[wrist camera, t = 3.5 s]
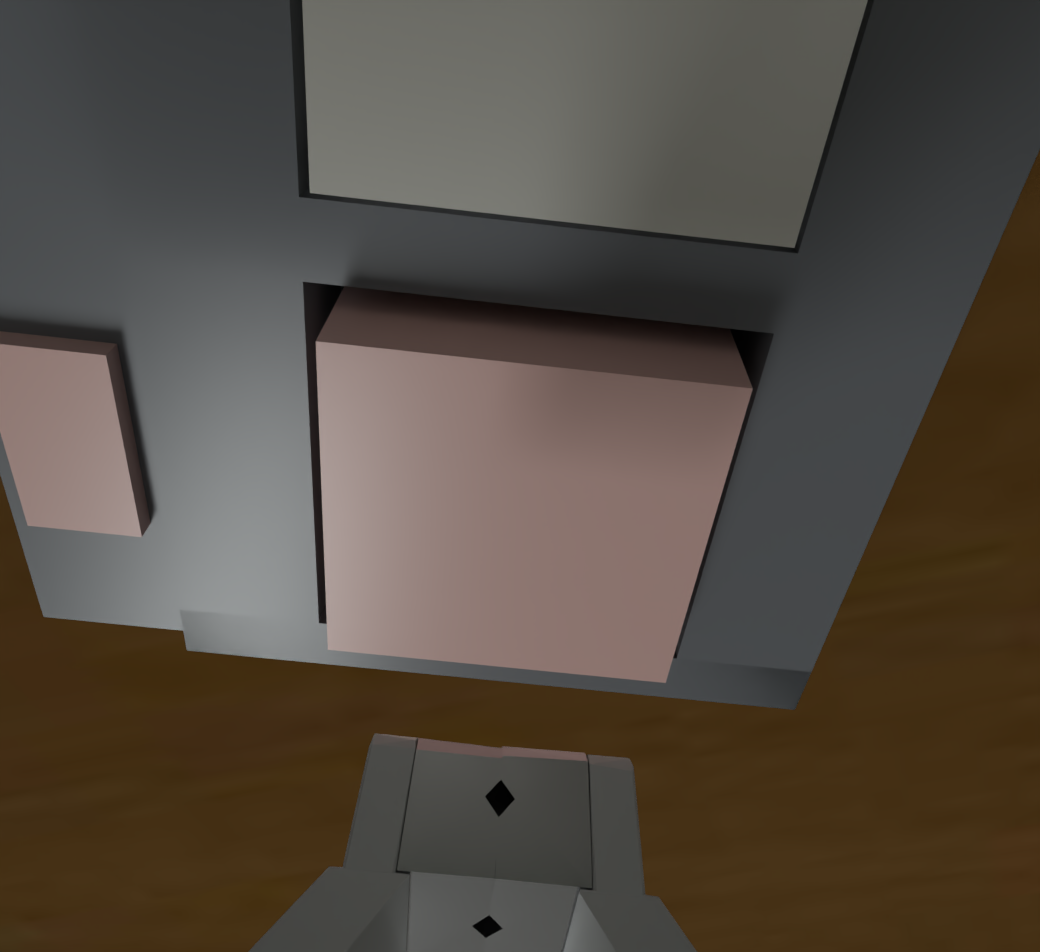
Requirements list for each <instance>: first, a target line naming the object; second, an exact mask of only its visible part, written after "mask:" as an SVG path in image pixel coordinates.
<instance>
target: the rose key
mask: <svg viewBox="0 0 1040 952" xmlns="http://www.w3.org/2000/svg"><path fill="white" fill-rule="evenodd" d="M316 363H317V389H318V414H319V439H320V464H321V490H322V515H323V540H324V566H325V591H326V616H327V642H328V650H335V651H345V652H355V653H365V654H376V655H386V656H396V657H406V658H416V659H427V660H437V661H447V662H457V663H467V664H478V665H488V666H498V667H508V668H518V669H529V670H539V671H549V672H559V673H569V674H580V675H590V676H600V677H610V678H620V679H631V680H641V681H651V682H661V683H666V680H667V677H668V673H669V670H670V666H671V663H672V660H673V656H674V653H675V649H676V646H677V643H678V639H679V636H680V633H681V629H682V626H683V622H684V619H685V616H686V612H687V609H688V606H689V602H690V599H691V595H692V592H693V589H694V585H695V582H696V579H697V575H698V572H699V568H700V565H701V562H702V558H703V555H704V552H705V548H706V545H707V541H708V538H709V535H710V531H711V528H712V525H713V521H714V518H715V514H716V511H717V508H718V504H719V501H720V498H721V494H722V491H723V487H724V484H725V481H726V477H727V474H728V471H729V467H730V464H731V460H732V457H733V454H734V450H735V447H736V444H737V440H738V437H739V433H740V430H741V427H742V423H743V420H744V417H745V413H746V410H747V406H748V403H749V400H750V396H751V393H752V390H753V388H752V385H751V383H750V380H749V378H748V375H747V372H746V370H745V367H744V364H743V362H742V359H741V357H740V354H739V351H738V349H737V346H736V344H735V341H734V338H733V336H732V333H731V331H730V329H728V328H719V327H710V326H701V325H692V324H683V323H674V322H665V321H655V320H646V319H637V318H628V317H619V316H610V315H601V314H592V313H583V312H574V311H565V310H556V309H547V308H538V307H529V306H520V305H511V304H502V303H492V302H483V301H474V300H465V299H456V298H447V297H438V296H429V295H420V294H411V293H402V292H393V291H384V290H375V289H366V288H357V287H348V286H344V288H343V290H342V292H341V294H340V296H339V298H338V300H337V301H336V303H335V305H334V307H333V309H332V311H331V313H330V315H329V317H328V319H327V321H326V322H325V324H324V326H323V328H322V330H321V332H320V334H319V336H318V338H317V340H316Z"/></svg>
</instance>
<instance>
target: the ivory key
mask: <svg viewBox="0 0 1040 952" xmlns="http://www.w3.org/2000/svg"><path fill="white" fill-rule="evenodd" d="M867 1H868V0H302V9H303V34H304V60H305V85H306V110H307V136H308V161H309V186H310V193H314V194H323V195H332V196H341V197H350V198H359V199H367V200H376V201H385V202H394V203H403V204H411V205H420V206H429V207H438V208H447V209H456V210H464V211H473V212H482V213H491V214H500V215H508V216H517V217H526V218H535V219H544V220H552V221H561V222H570V223H579V224H588V225H597V226H605V227H614V228H623V229H632V230H641V231H649V232H658V233H667V234H676V235H685V236H694V237H702V238H711V239H720V240H729V241H738V242H746V243H755V244H764V245H773V246H782V247H790V248H795V244H796V241H797V238H798V234H799V231H800V227H801V224H802V221H803V217H804V214H805V211H806V207H807V204H808V200H809V197H810V194H811V190H812V187H813V184H814V180H815V177H816V173H817V170H818V167H819V163H820V160H821V157H822V153H823V150H824V146H825V143H826V140H827V136H828V133H829V130H830V126H831V123H832V119H833V116H834V113H835V109H836V106H837V103H838V99H839V96H840V92H841V89H842V86H843V82H844V79H845V75H846V72H847V69H848V65H849V62H850V59H851V55H852V52H853V48H854V45H855V42H856V38H857V35H858V32H859V28H860V25H861V21H862V18H863V15H864V11H865V8H866V5H867Z"/></svg>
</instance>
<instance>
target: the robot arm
mask: <svg viewBox="0 0 1040 952" xmlns="http://www.w3.org/2000/svg"><path fill="white" fill-rule="evenodd" d="M248 952H697V951H696V950H695V948H694V947H693V945H692V944H691V943H690V941H689V940H688V938H687V937H686V935H685V934H684V933H683V931H682V930H681V928H680V927H679V925H678V924H677V923H676V921H675V920H674V918H673V917H672V915H671V914H670V913H669V911H668V910H667V908H666V907H665V905H664V904H663V903H662V901H661V900H660V898H659V897H656V896H649V895H645V887H644V876H643V865H642V854H641V843H640V832H639V821H638V810H637V799H636V788H635V777H634V767H633V765H632V763H631V761H630V759H629V758H622V757H610V756H598V755H585V753H578V752H565V751H553V750H541V749H528V748H516V747H503V746H502V748H496V747H488V746H480V745H471V744H463V743H455V742H447V741H438V740H430V739H422V738H419V739H418V738H414V737H404V736H394V735H385V734H374V737H373V739H372V741H371V744H370V746H369V750H368V754H367V759H366V764H365V768H364V773H363V777H362V782H361V786H360V791H359V795H358V800H357V804H356V809H355V813H354V818H353V822H352V827H351V831H350V836H349V840H348V845H347V849H346V854H345V858H344V863H343V867H328V868H327V869H326V870H325V872H324V873H323V874H322V875H321V876H320V877H319V878H318V879H317V880H316V881H315V882H314V883H313V884H312V885H311V886H310V887H309V888H308V889H307V890H306V891H305V893H304V894H303V895H302V896H301V897H300V898H299V899H298V900H297V901H296V902H295V903H294V904H293V905H292V906H291V907H290V908H289V909H288V910H287V911H286V913H285V914H284V915H283V916H282V917H281V918H280V919H279V920H278V921H277V922H276V923H275V924H274V925H273V926H272V927H271V928H270V929H269V930H268V931H267V933H266V934H265V935H264V936H263V937H262V938H261V939H260V940H259V941H258V942H257V943H256V944H255V945H254V946H253V947H252V948H251V949H250V950H249V951H248Z"/></svg>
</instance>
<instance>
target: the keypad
mask: <svg viewBox="0 0 1040 952" xmlns="http://www.w3.org/2000/svg"><path fill="white" fill-rule="evenodd" d="M1039 149H1040V0H868V1H867V5H866V8H865V11H864V15H863V18H862V21H861V25H860V28H859V32H858V35H857V38H856V42H855V45H854V48H853V52H852V55H851V59H850V62H849V65H848V69H847V72H846V75H845V79H844V82H843V86H842V89H841V92H840V96H839V99H838V103H837V106H836V109H835V113H834V116H833V119H832V123H831V126H830V130H829V133H828V136H827V140H826V143H825V146H824V150H823V153H822V157H821V160H820V163H819V167H818V170H817V173H816V177H815V180H814V184H813V187H812V190H811V194H810V197H809V200H808V204H807V207H806V211H805V214H804V217H803V221H802V224H801V227H800V231H799V234H798V238H797V241H796V244H795V248H790V247H782V246H773V245H764V244H755V243H746V242H738V241H729V240H720V239H711V238H702V237H694V236H685V235H676V234H667V233H658V232H649V231H641V230H632V229H623V228H614V227H605V226H597V225H588V224H579V223H570V222H561V221H552V220H544V219H535V218H526V217H517V216H508V215H500V214H491V213H482V212H473V211H464V210H456V209H447V208H438V207H429V206H420V205H411V204H403V203H394V202H385V201H376V200H367V199H359V198H350V197H341V196H332V195H323V194H314V193H310V186H309V161H308V136H307V110H306V85H305V60H304V34H303V9H302V0H0V475H1V478H2V481H3V485H4V488H5V491H6V495H7V498H8V501H9V504H10V508H11V511H12V514H13V518H14V521H15V524H16V527H17V531H18V534H19V537H20V541H21V544H22V547H23V550H24V554H25V557H26V560H27V564H28V567H29V570H30V573H31V577H32V580H33V583H34V587H35V590H36V593H37V596H38V600H39V603H40V606H41V610H42V613H43V616H44V617H51V618H61V619H71V620H81V621H91V622H101V623H112V624H122V625H132V626H142V627H152V628H163V629H173V630H183V631H184V637H185V642H186V648H187V650H188V651H199V652H209V653H219V654H229V655H240V656H250V657H260V658H270V659H281V660H291V661H301V662H311V663H322V664H332V665H342V666H352V667H363V668H373V669H383V670H393V671H404V672H414V673H424V674H434V675H445V676H455V677H465V678H475V679H486V680H496V681H506V682H516V683H527V684H537V685H547V686H557V687H568V688H578V689H588V690H598V691H609V692H619V693H629V694H639V695H650V696H660V697H670V698H680V699H691V700H701V701H711V702H721V703H732V704H742V705H752V706H762V707H773V708H783V709H793V710H795V708H796V706H797V704H798V701H799V699H800V697H801V694H802V692H803V690H804V687H805V685H806V683H807V681H808V678H809V676H810V674H811V671H812V669H813V667H814V665H815V662H816V660H817V658H818V655H819V653H820V651H821V649H822V646H823V644H824V642H825V639H826V637H827V635H828V633H829V630H830V628H831V626H832V623H833V621H834V619H835V616H836V614H837V612H838V610H839V607H840V605H841V603H842V600H843V598H844V596H845V594H846V591H847V589H848V587H849V584H850V582H851V580H852V578H853V575H854V573H855V571H856V568H857V566H858V564H859V562H860V559H861V557H862V555H863V552H864V550H865V548H866V546H867V543H868V541H869V539H870V536H871V534H872V532H873V529H874V527H875V525H876V523H877V520H878V518H879V516H880V513H881V511H882V509H883V507H884V504H885V502H886V500H887V497H888V495H889V493H890V491H891V488H892V486H893V484H894V481H895V479H896V477H897V475H898V472H899V470H900V468H901V465H902V463H903V461H904V459H905V456H906V454H907V452H908V449H909V447H910V445H911V442H912V440H913V438H914V436H915V433H916V431H917V429H918V426H919V424H920V422H921V420H922V417H923V415H924V413H925V410H926V408H927V406H928V404H929V401H930V399H931V397H932V394H933V392H934V390H935V388H936V385H937V383H938V381H939V378H940V376H941V374H942V371H943V369H944V367H945V365H946V362H947V360H948V358H949V355H950V353H951V351H952V349H953V346H954V344H955V342H956V339H957V337H958V335H959V333H960V330H961V328H962V326H963V323H964V321H965V319H966V317H967V314H968V312H969V310H970V307H971V305H972V303H973V301H974V298H975V296H976V294H977V291H978V289H979V287H980V284H981V282H982V280H983V278H984V275H985V273H986V271H987V268H988V266H989V264H990V262H991V259H992V257H993V255H994V252H995V250H996V248H997V246H998V243H999V241H1000V239H1001V236H1002V234H1003V232H1004V230H1005V227H1006V225H1007V223H1008V220H1009V218H1010V216H1011V214H1012V211H1013V209H1014V207H1015V204H1016V202H1017V200H1018V197H1019V195H1020V193H1021V191H1022V188H1023V186H1024V184H1025V181H1026V179H1027V177H1028V175H1029V172H1030V170H1031V168H1032V165H1033V163H1034V161H1035V159H1036V156H1037V154H1038V152H1039ZM344 286H348V287H357V288H366V289H375V290H384V291H393V292H402V293H411V294H420V295H429V296H438V297H447V298H456V299H465V300H474V301H483V302H492V303H502V304H511V305H520V306H529V307H538V308H547V309H556V310H565V311H574V312H583V313H592V314H601V315H610V316H619V317H628V318H637V319H646V320H655V321H665V322H674V323H683V324H692V325H701V326H710V327H719V328H728V329H730V331H731V333H732V336H733V338H734V341H735V344H736V346H737V349H738V351H739V354H740V357H741V359H742V362H743V364H744V367H745V370H746V372H747V375H748V378H749V380H750V383H751V385H752V388H753V390H752V393H751V396H750V400H749V403H748V406H747V410H746V413H745V417H744V420H743V423H742V427H741V430H740V433H739V437H738V440H737V444H736V447H735V450H734V454H733V457H732V460H731V464H730V467H729V471H728V474H727V477H726V481H725V484H724V487H723V491H722V494H721V498H720V501H719V504H718V508H717V511H716V514H715V518H714V521H713V525H712V528H711V531H710V535H709V538H708V541H707V545H706V548H705V552H704V555H703V558H702V562H701V565H700V568H699V572H698V575H697V579H696V582H695V585H694V589H693V592H692V595H691V599H690V602H689V606H688V609H687V612H686V616H685V619H684V622H683V626H682V629H681V633H680V636H679V639H678V643H677V646H676V649H675V653H674V656H673V660H672V663H671V666H670V670H669V673H668V677H667V680H666V683H661V682H651V681H641V680H631V679H620V678H610V677H600V676H590V675H580V674H569V673H559V672H549V671H539V670H529V669H518V668H508V667H498V666H488V665H478V664H467V663H457V662H447V661H437V660H427V659H416V658H406V657H396V656H386V655H376V654H365V653H355V652H345V651H335V650H328V642H327V616H326V591H325V566H324V540H323V515H322V490H321V464H320V439H319V414H318V389H317V363H316V340H317V338H318V336H319V334H320V332H321V330H322V328H323V326H324V324H325V322H326V321H327V319H328V317H329V315H330V313H331V311H332V309H333V307H334V305H335V303H336V301H337V300H338V298H339V296H340V294H341V292H342V290H343V288H344Z"/></svg>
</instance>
